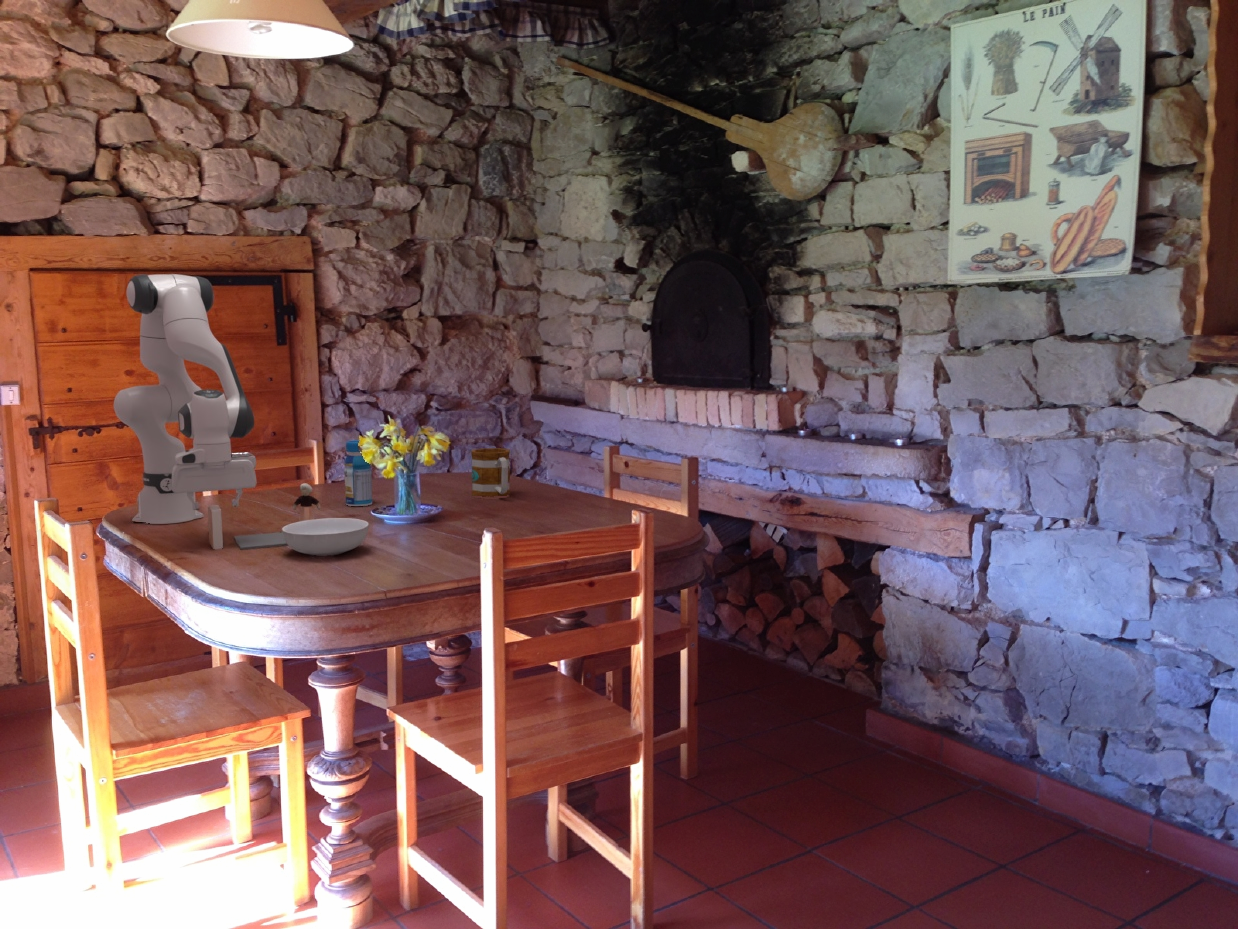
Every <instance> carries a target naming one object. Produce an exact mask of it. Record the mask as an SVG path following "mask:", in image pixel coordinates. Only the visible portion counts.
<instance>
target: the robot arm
mask: <svg viewBox="0 0 1238 929" xmlns="http://www.w3.org/2000/svg"><path fill="white" fill-rule="evenodd" d="M126 297H127V298H126V299H127V301H128V305H129V307H130V308H131V309H132V310H133V311H134V312H135V313H139V314H141V317H140V325H139V326H140V327H139V328H140V329H139V330H140V331H139V335H140V336H139V355H140V356H139V359H140V363H141V364H142V365H143V366H144V368H145V369H147V370H149V371H151V373H155V374H156V375H157V377H158V380H159V381H158V383H159V384H150V385H136V386H131V387H127V388H124V389H121V390H119V391H118V392H117V394H116V395H115V398H114V401H113V410H114V412H115V415H116V417H117V418H118V419H119V421H121V422H122V423H123V424H125V425H126V426H127V427H129V428H130V429H131V430H132V431H133V433H134V434H135V435H136V437H137V438H138V440H139V443H140V447H141V451H142V459H143V470H144V471H143V473H142V483H143V484H142V485H144V487H143V488H142V489H141V490H140V491H139V493H138V495H137V498H136V504H137V505H138V506H137V511H138V513H137V514H136V515H135V516H134V517H133V518H132V520H131V522H132V521H140V522H146V523H145V524H148V523H150V524H149V525H165V524H177V523H183V522H189V521H192V520H195V519H200V518H204V513H203V512H200V511H199V510H200V502H199V501H196V493H203V492H205V493H206V492H215V491H216V492H217V491H228V490H229V491H230V490H232V491H233V490H235V492H236V496H235V498H234V499H231V505H232V508H235V507H240V503H239V501H240V499H241V497H242V496H243V490H244V489H254V488H255V487H256V486H257V483H258V482H257V476H256V474H257V473H256V471H255V468H256V467H257V458H256V456H255V455H254V454H253V453H251V452H248V451H247V452H246V451H245V452H232V445H231V439H236V438H237V439H243V438H244V437H246V436H247V435H248V434H250V433H251V431H252V430H253V429H254V427H255V415H254V413H253V409H252V407H251V404H250V402H249V401H248V399H247V397H246V395H245V392H244V389H243V386H242V384H241V381H240V377H239V375H238V372H237V369H236V367H235V364H234V362H233V359H232V356H231V354H230V352H229V350H228V348H227V347H226V345H225V344H223V343H222V342H219V341H218V339H217V338H216V337H215V335H214V334H213V333H212V330H211V328H210V324H209V319H208V312H209V311H211V309H212V308H213V305H214V300H215V292H214V288H213V285H212V283H211V281H209V279H207V278H205V277H202V276H198V275H194V276H191V275H185V274H175V273H170V274H169V273H168V274H149V275H148V274H147V273H146V274H145V273H143V274H136V275H134V276H132V277H131V278H130V279H129V281H128V284H127V287H126ZM184 360H185V361H188V362H191V363H195V364H198V365H202V366H204V367H207V368H209V369H211V370H212V371H213V372H215V373H216V375H217V376H218V379H219V381H220V384H221V387H222V389H223V392H222V391H221V390H217V389H210V388H208V389H202V388H201V387H200V386H198V385H197V384H196V383H195V382H194V381H193V380H192V378H191V377H190V375H189V374H188V371H187V369H186V366H185V361H184ZM169 423H170V424H171V423H178V431H179V433H181V434H182V435H183V436H184V437H186V438H188V439H191V440H192V439H193V441H192V446H193V447H191V448H190V449H187V450H186V447H185V444H184V442H183V441H182V440H181V439H180V438H177V437H176V436H174V435H170V434H169V433H168V431H167V429H166V424H169Z"/></svg>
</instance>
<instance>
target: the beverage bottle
mask: <svg viewBox="0 0 1238 929" xmlns="http://www.w3.org/2000/svg"><path fill="white" fill-rule="evenodd" d="M360 440H361V439H360ZM360 440H358V439H357V440H356V439H354V440H348V441H346V442H345V450H346V453H348V454H347V455H346V457H345V458H344V459H345V460H344V462H343V465H344V467H345V468H344V470H343V475H344V489H345V494H344V495H345V505H346V506H347V505H348V506H347V507H351V506H363V507H368V505H369V506H371V505H373V488H372V486H373V484H372V483H373V482H372V479H373V478H372V474H373V469H372V467H371V465H372V463H371V464H369V463H367V462H365V460H364V459H363V456H362V455H361V453H360V451H359V449H358V443H359V441H360Z"/></svg>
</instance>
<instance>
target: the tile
mask: <svg viewBox="0 0 1238 929" xmlns="http://www.w3.org/2000/svg"><path fill="white" fill-rule="evenodd" d="M207 518H208V539H209V545H210V546H211V548H212V549H213V550H214V549H215V550H223V549H224V544H223V543H224V540H223V539H224V538H223V525H222V524H223V522H222V509H221V507H220V506H219V505H218V504H211V505H208V507H207ZM222 548H223V549H222Z"/></svg>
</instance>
